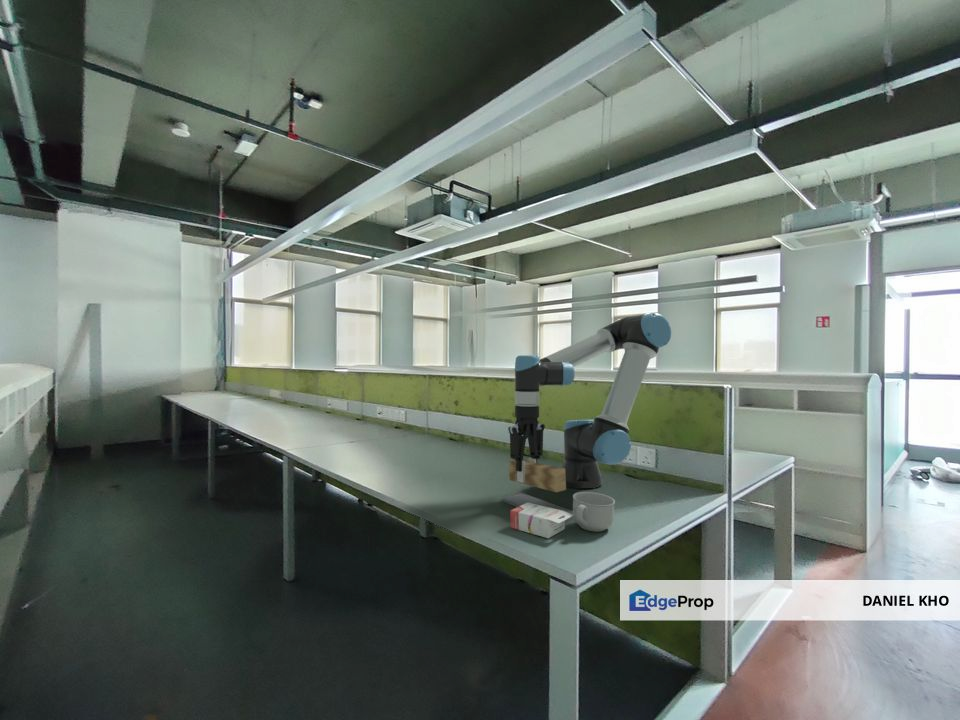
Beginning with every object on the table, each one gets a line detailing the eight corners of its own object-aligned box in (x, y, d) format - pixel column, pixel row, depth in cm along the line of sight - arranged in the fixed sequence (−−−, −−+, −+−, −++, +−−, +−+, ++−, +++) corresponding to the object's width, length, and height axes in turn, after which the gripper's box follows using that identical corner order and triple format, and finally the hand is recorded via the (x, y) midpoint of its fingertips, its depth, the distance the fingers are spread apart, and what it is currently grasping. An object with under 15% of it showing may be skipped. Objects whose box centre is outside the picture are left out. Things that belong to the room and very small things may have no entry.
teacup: (588, 517, 119) (588, 488, 119) (623, 528, 110) (623, 498, 111) (556, 529, 110) (556, 498, 110) (591, 543, 102) (591, 509, 102)
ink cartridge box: (509, 528, 111) (558, 542, 101) (509, 509, 111) (557, 522, 101) (528, 519, 117) (575, 532, 108) (528, 501, 118) (575, 512, 108)
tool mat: (522, 495, 138) (522, 493, 138) (574, 514, 121) (574, 511, 121) (501, 500, 133) (501, 498, 133) (552, 521, 115) (552, 518, 115)
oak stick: (509, 480, 133) (509, 460, 134) (518, 478, 136) (518, 459, 136) (556, 492, 117) (555, 470, 118) (565, 489, 120) (565, 468, 120)
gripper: (538, 402, 138) (538, 473, 138) (498, 405, 128) (497, 482, 128) (555, 404, 132) (554, 478, 132) (514, 407, 122) (513, 488, 122)
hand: (526, 480), depth 130 cm, fingers closed on oak stick, 4 cm apart
